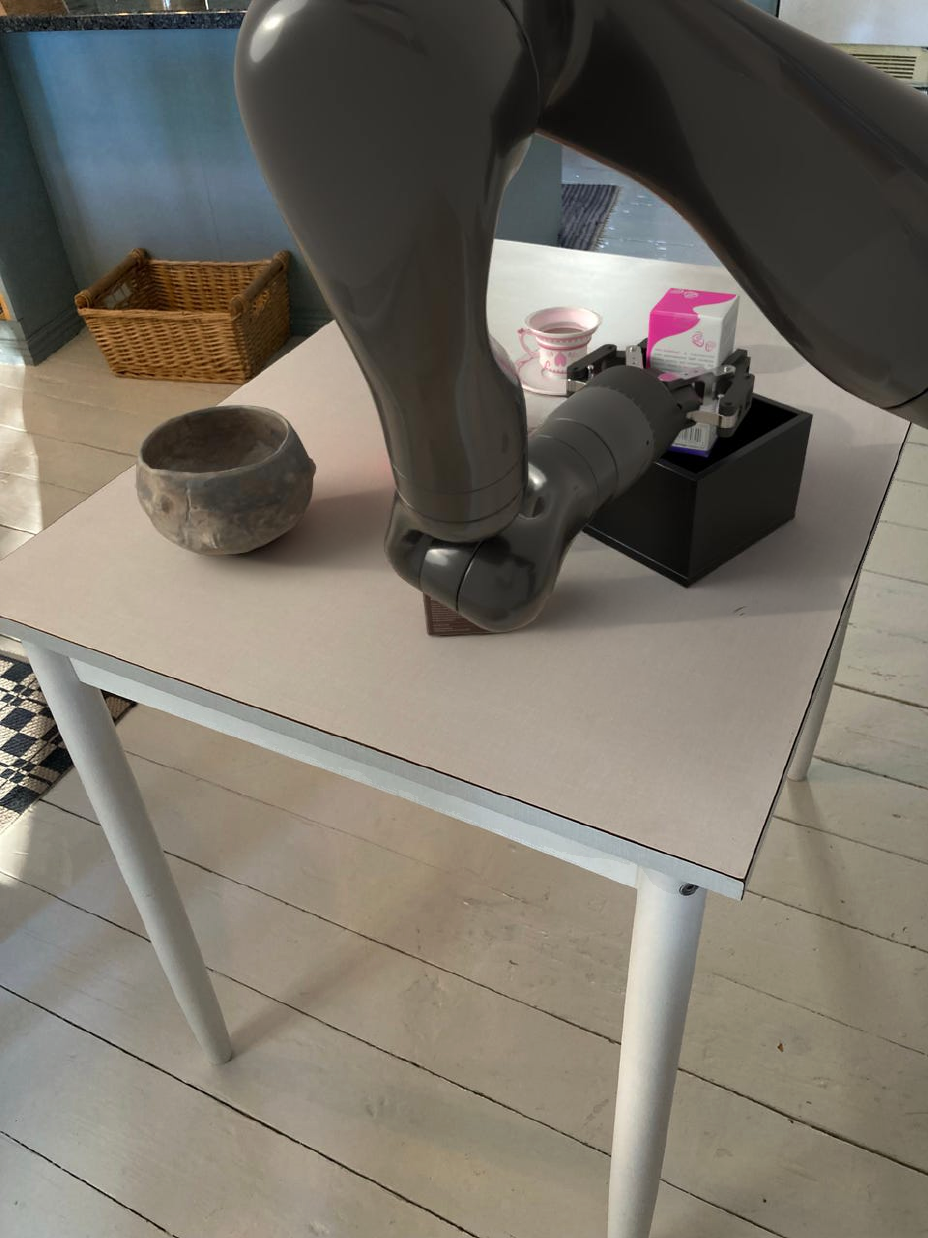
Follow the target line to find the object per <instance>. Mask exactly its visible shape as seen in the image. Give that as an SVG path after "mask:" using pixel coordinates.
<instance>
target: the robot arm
mask: <svg viewBox="0 0 928 1238" xmlns="http://www.w3.org/2000/svg"><path fill="white" fill-rule="evenodd" d="M232 70H233V73H232V74H233V82H234V90H235V91H234V93H235V99H236V104H237V107H238V111H239V115H240V119H241V122H242V125H243V129H244V131H245V135H246V138H247V141H248V143H249V147H250V150H251V152H252V154H253V156H254V158H255V161H256V163H257V166H258V169H259V171H260V173H261V175H262V177H263V180H264V183H265V184H266V186H267V188H268V191H269V193H270V195H271V197H272V199H273V201H274V203H275V205H276V208H277V209H278V212H279V213H280V215H281V217H282V219H283V221H284V222H285V225H286V227H287V229H288V231H289V233H290V234H291V236H292V238H293V241H294V242H295V244H296V246H297V248H298V250H299V252H300V254H301V255H302V257H303V259H304V261H305V263H306V265H307V267H308V269H309V271H310V273H311V274H312V276H313V279H314V281H315V284H316V285H317V287H318V289H319V291H320V293H321V295H322V297H323V299H324V302H325V304H326V306H327V308H328V310H329V312H330V314H331V316H332V317H333V319H334V321H335V323H336V325H337V327H338V329H339V331H340V333H341V336H343V339H344V341H345V343H346V345H347V346H348V348H349V350H350V353H351V354H352V355H353V358H354V359H355V361H356V364H357V366H358V367H359V370H360V372H361V374H362V376H363V378H364V380H365V382H366V384H367V387H368V390H369V392H370V395H371V397H372V401H373V403H374V407H375V410H376V413H377V416H378V420H379V423H380V427H381V431H382V435H383V440H384V445H385V448H386V449H385V450H386V453H387V457H388V460H389V465H390V469H391V473H392V477H393V480H394V485H395V488H394V493H393V499H392V504H391V511H390V516H389V519H388V523H387V526H386V529H385V533H384V539H383V551H384V554H385V557H386V559H387V561H388V563H389V565H390V567H391V568H392V569H393V570H394V572H395V573H396V574H397V576H399V577H400V579H402V580H403V581H404V582H406V583H407V584H408V585H410V586H411V587H413V588H415V589H416V590H417V591H419V592H421V593H422V594H423V593H425V594H426V595H428V596H430V597H431V598H433V599H435V600H436V601H438V602H440V603H441V604H443V605H444V606H446V607H448V608H449V609H451V610H453V611H454V612H456V613H458V614H459V615H461V616H462V617H464V618H466V619H467V620H469V621H471V622H472V623H474V624H476V625H478V626H479V627H481V628H483V629H486V630H489V631H493V632H495V633H508V632H512V631H515V630H518V629H521V628H523V627H525V626H527V625H528V624H530V623H531V622H533V621H534V620H535V619H536V618H537V617H538V615H540V613H541V612H542V610H543V609H544V608H545V607H546V604H547V602H548V601H549V598H550V596H551V594H552V592H553V590H554V587H555V584H556V582H557V579H558V577H559V575H560V572H561V569H562V566H563V563H564V562H565V559H566V556H567V555H568V553H569V550H570V549H571V548H572V545H573V544H574V542H575V541H576V539H577V537H578V536H579V534H580V533H581V532H582V531H581V530H582V529H583V528H584V527H585V526H586V525H587V524H588V523H589V522H590V521H591V520H592V519H593V518H594V517H595V516H596V515H597V514H598V513H599V512H600V511H601V510H602V509H603V508H604V507H605V506H606V505H607V504H609V503H610V502H611V501H613V500H615V499H616V498H618V497H619V496H621V495H622V494H623V493H624V492H626V491H627V490H628V489H629V488H630V487H631V486H632V485H633V484H634V483H635V482H636V481H637V480H638V479H639V478H640V477H641V476H642V475H643V474H644V473H645V472H646V471H647V470H648V469H649V468H650V467H651V466H652V465H653V464H654V463H655V462H656V461H657V460H658V459H659V458H660V457H661V456H662V455H663V454H664V453H665V452H666V451H667V450H668V449H669V448H670V447H671V445H672V444H673V442H674V441H675V439H676V438H677V436H678V434H679V433H680V432H681V431H682V430H684V429H687V428H691V427H693V426H694V425H696V424H697V422H700V423H705V424H711V425H715V426H716V435H717V436H719V437H731V436H732V435H733V433H734V432H735V430H736V429H737V427H738V426H739V424H740V423H741V421H742V420H743V418H744V417H745V415H746V414H747V412H748V411H749V409H750V407H751V402H752V395H753V393H754V387H755V381H756V375H755V374H754V373H750V368H751V362H752V361H751V360H752V357H751V356H749V355H748V354H749V353H748V349H744V348H739V347H738V348H736V350H734V351H733V353H732V354H731V355H730V356H729V357H728V358H727V359H726V360H725V361H724V362H723V363H722V364H721V366H719V367H715V368H712V369H709V370H708V369H706V368H704V367H702V366H699V367H695V368H692V369H689V370H685V371H682V372H679V373H673V372H668V373H667V372H663V371H660V370H658V369H654V368H649V367H648V368H647V369H646V357H647V345H648V336H647V337H645V338H644V339H642V340H641V341H640V342H639V343H637V344H636V345H633V344H632V345H627V346H626V347H625V349H624V350H619V349H618V346H617V345H616V344H613V343H605V344H603V345H601V346H599V347H598V348H596V349H595V350H594V351H593V352H591V353H589V354H588V355H586V356H584V357H583V358H581V359H579V360H578V361H576V362H574V363H573V364H571V365H569V366H568V367H567V377H566V395H565V397H566V399H565V400H564V401H563V402H561V403H560V404H559V405H557V406H556V407H555V408H554V409H553V410H552V411H550V413H549V414H548V415H547V416H546V417H545V419H543V421H542V423H540V424H539V426H538V427H536V428H535V429H534V430H532V431H531V432H530V433H529V429H528V412H527V403H526V397H525V391H524V389H523V388H522V384H521V381H520V378H519V375H518V372H517V369H516V367H515V365H514V363H513V362H514V361H513V360H512V359H511V356H510V355H509V353H508V352H507V350H506V349H505V348H504V347H503V346H502V344H501V343H500V341H498V340H497V339H496V338H495V337H494V336H493V335H492V334H491V333H490V328H489V322H488V291H489V282H490V281H489V280H490V272H491V263H492V256H493V249H494V242H495V236H496V232H497V227H498V221H499V215H500V210H501V206H502V202H503V198H504V195H505V191H506V189H507V186H508V185H509V184H510V183H511V181H512V180H513V178H514V176H515V175H516V174H517V172H518V171H519V169H520V167H521V166H522V164H523V162H524V160H525V158H526V156H527V155H528V151H529V149H530V147H531V143H532V142H533V139H534V136H535V135H537V136H539V137H542V138H545V139H547V140H550V141H552V142H554V143H556V144H559V145H561V146H564V147H565V148H568V149H570V150H572V151H573V152H574V151H575V152H577V153H579V154H581V155H582V156H585V157H587V158H589V159H590V160H592V161H595V162H596V163H598V164H600V165H602V166H604V167H607V168H609V169H610V170H613V171H615V172H616V173H619V174H620V175H622V176H624V177H625V178H627V179H629V180H631V181H632V182H633V183H635V184H637V185H638V186H640V187H642V188H644V189H645V190H646V191H648V192H649V193H650V194H652V195H653V196H654V197H656V198H657V199H658V200H660V201H661V202H662V203H663V204H665V205H666V206H667V207H668V208H670V209H671V210H672V212H674V213H675V214H676V215H677V217H679V218H680V219H681V220H683V222H684V223H685V224H686V225H688V227H690V229H691V230H692V231H693V232H694V233H695V234H696V235H697V237H698V238H700V240H701V241H702V242H703V243H704V244H705V245H706V246H707V248H708V249H709V250H710V251H711V252H712V253H713V254H714V256H715V257H716V258H717V259H718V261H720V263H721V264H722V265H723V266H724V268H725V269H726V270H727V271H728V273H729V274H730V275H731V277H732V279H734V280H735V282H736V283H737V284H738V286H739V287H740V288H741V289H742V290H743V292H744V293H745V295H747V297H748V298H749V299H750V300H751V301H752V304H754V305H755V307H756V308H757V309H758V310H759V312H760V313H761V314H762V315H763V316H764V317H765V318H766V320H767V321H768V322H769V323H770V325H771V326H773V328H774V329H775V330H776V332H778V334H779V335H780V336H782V338H783V339H784V340H785V341H786V342H787V343H788V345H790V346H791V347H792V348H793V350H795V352H796V353H798V355H799V356H801V357H802V359H804V360H805V361H806V362H807V363H808V364H809V365H810V366H811V367H813V368H814V369H815V370H816V371H818V372H819V373H820V374H821V375H822V376H823V377H824V378H826V379H827V380H828V381H830V383H832V384H834V385H835V386H837V387H838V388H840V389H841V390H843V391H845V392H846V393H848V394H850V395H851V396H854V397H855V398H858V399H859V400H862V401H863V402H864V403H867V404H869V405H872V406H874V407H877V408H878V409H880V410H883V411H884V412H887V413H889V414H892V415H894V416H896V417H898V418H901V419H903V420H905V421H907V422H909V423H912V424H913V425H916V426H919V427H921V428H923V429H925V430H927V431H928V94H927V93H925V92H923V91H921V90H920V89H917V88H915V87H913V86H911V85H909V84H908V83H906V82H904V81H902V80H900V79H898V78H897V77H895V76H893V75H891V74H889V73H887V72H886V71H884V70H882V69H880V68H877V67H875V66H874V65H871V64H870V63H868V62H866V61H864V60H862V59H859V58H858V57H855V56H854V55H852V54H850V53H848V52H846V51H845V50H842V49H841V48H839V47H837V46H834V45H832V44H830V43H829V42H826V41H824V40H822V39H820V38H819V37H816V36H814V35H812V34H810V33H808V32H807V31H804V30H801V29H799V28H798V27H796V26H794V25H792V24H790V23H788V22H786V21H784V20H782V19H780V18H778V17H776V16H774V15H772V14H770V13H768V12H767V11H764V10H762V9H761V8H759V7H757V6H756V5H754V4H753V3H751V2H750V1H747V0H251V2H250V4H249V5H248V8H247V10H246V12H245V15H244V16H243V18H242V22H241V25H240V28H239V31H238V35H237V40H236V46H235V52H234V55H233V67H232ZM716 381H718V382H717V390H716V391H712V386H713V384H714V383H715V382H716ZM692 383H695V384H694V387H693V385H692Z"/></svg>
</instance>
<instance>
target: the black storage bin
mask: <svg viewBox="0 0 928 1238" xmlns="http://www.w3.org/2000/svg"><path fill="white" fill-rule="evenodd" d="M813 418H814V413H811V412H808V411H805V410H802V409H799V408H796V407H793V406H790V405H788V404H786V403H783V402H780V401H778V400H775V399H773V398H770V397H767V396H764V395H761V394H758V393H756V392H753V395H752V402H751V407H750V409H749V411H748V412H747V414H746V415H745V417H744V418H743V420H742V421H741V423H740V424H739V426H738V427H737V429H736V430H735V432H734V433H733V435H732V436H731V437H718V439H717V441H716V442H715V444H714V446H713V448H712V450H711V452H710V454H709V455H708V457H702V456H696V455H691V454H685V453H679V452H673V451H666V452H665V453H664V454H663V455H662V456H661V457H660V458H659V459H658V460H657V461H656V462H655V463H654V464H653V465H652V466H651V467H650V468H649V469H648V470H647V471H646V472H645V473H644V474H643V475H642V476H641V477H640V478H639V479H638V480H637V481H636V482H635V483H634V484H633V485H632V486H631V487H630V488H629V489H628V490H627V491H626V492H624V493H623V494H622V495H621V496H619V497H618V498H616V499H615V500H613V501H611V502H610V503H609V504H607V505H606V506H605V507H604V508H603V509H602V510H601V511H600V512H599V513H598V514H597V515H596V516H595V517H594V518H593V519H592V520H591V521H590V522H589V523H588V524H587V525H586V526H585V527H584V528H583V529H582V530H581V532H582V533H584V534H586V535H587V536H589V537H591V538H593V539H595V540H596V541H598V542H600V543H602V544H604V545H606V546H608V547H609V548H611V549H613V550H615V551H617V552H618V553H620V554H622V555H624V556H626V557H628V558H629V559H631V560H633V561H635V562H637V563H638V564H641V565H642V566H644V567H646V568H648V569H650V570H652V571H654V572H656V573H657V574H659V575H661V576H662V577H664V578H667V579H669V580H670V581H672V582H673V583H675V584H677V585H679V586H681V587H683V588H684V589H689V588H690V587H691V586H693V585H695V584H696V583H697V582H699V581H701V580H702V579H703V578H705V577H707V576H708V575H710V574H711V573H713V572H714V571H716V570H717V569H719V568H721V567H722V566H723V565H725V564H726V563H728V562H729V561H731V560H732V559H734V558H735V557H737V556H739V555H741V554H742V553H743V552H744V551H746V550H747V549H749V548H751V547H752V546H753V545H755V544H757V543H758V542H760V541H762V539H765V538H766V537H768V536H769V535H770V534H772V533H773V532H775V531H777V530H778V529H779V528H781V527H782V526H784V525H785V524H787V523H788V522H790V521H792V520H793V519H795V517H796V513H797V507H798V501H799V497H800V490H801V485H802V480H803V479H802V478H803V473H804V468H805V463H806V458H807V452H808V447H809V440H810V435H811V429H812V425H813V424H812V423H813Z"/></svg>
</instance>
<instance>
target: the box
mask: <svg viewBox="0 0 928 1238" xmlns="http://www.w3.org/2000/svg"><path fill="white" fill-rule="evenodd" d="M422 600H423V607H424V615H425V625H426V633H427V635H428V636H449V635H450V636H451V635H468V634H495V633H496V632H493V631H489V630H486V629H483V628H481V627H479V626H478V625H476V624H474V623H472V622H471V621H469V620H467V619H466V618H464V617H462V616H461V615H459V614H458V613H456V612H454V611H453V610H451V609H449V608H448V607H446V606H444V605H443V604H441V603H440V602H438V601H436V600H435V599H433V598H431V597H430V596H428V595H426V594H425V593H423V592H422Z"/></svg>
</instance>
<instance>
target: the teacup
mask: <svg viewBox="0 0 928 1238" xmlns="http://www.w3.org/2000/svg"><path fill="white" fill-rule="evenodd" d="M603 320H604V319H603V316H602V315H601V313H599V312H597V311H595V310H594V309H590V308H586V307H581V306H554V307H553V306H552V307H548V308H543V309H539V310H536V311H534V312H532V313H530V314H529V315H527V316H526V317H525V319H524V325H525V326H526V328H525V329H524V328H523V327H520V329H517V331H516V332H517V334H519V335H518V338H519V342H520V345H521V347H522V348H523V350H524V351H525V354H523V355H521V356H520V357H518V358H516V359H515V360H514V361H512V362H513V363H514V365H515V367H516V369H517V372H518V375H519V378H520V381H521V384H522V388H523V390H527V391H528V392H529V391H530V392H532V393H535V394H542V395H548V396H566V377H567V367H568V366H569V365H571V364H573V363H574V362H576V361H578V360H579V359H581V358H583V357H584V356H586V355H588V354H589V353H591V352H593V351H594V350H593V349H590V348H588V345H589V344H590V342H591V340H592V338H593V335H594V334H595V333H596V332H597V331H598V328H599V326H600V325H602V323H603ZM525 335H530V336H532V337H534V340H535V342H536V343H537V345H538V349H537V350H531V349H530V348H529V347H528V346H527V344H526V343H525V340H524V336H525Z"/></svg>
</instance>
